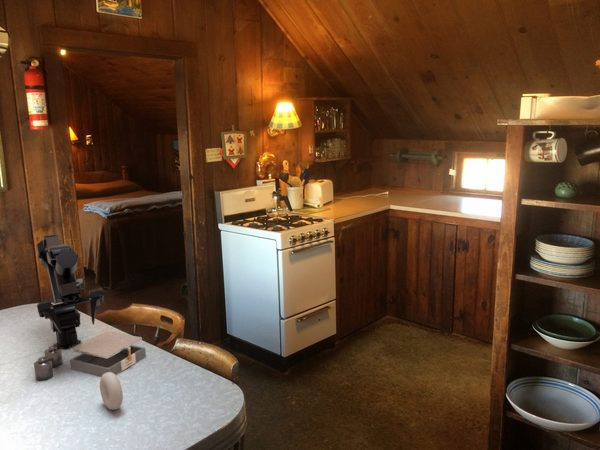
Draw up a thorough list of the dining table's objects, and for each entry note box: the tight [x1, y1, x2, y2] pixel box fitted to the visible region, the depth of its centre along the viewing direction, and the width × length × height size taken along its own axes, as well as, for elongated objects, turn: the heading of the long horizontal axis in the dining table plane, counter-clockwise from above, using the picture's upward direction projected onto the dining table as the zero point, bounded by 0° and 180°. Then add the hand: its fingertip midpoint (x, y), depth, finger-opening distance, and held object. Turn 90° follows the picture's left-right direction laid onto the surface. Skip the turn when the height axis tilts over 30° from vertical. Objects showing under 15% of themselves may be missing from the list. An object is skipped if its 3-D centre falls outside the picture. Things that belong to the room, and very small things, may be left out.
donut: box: [99, 372, 124, 411], centre depth 139 cm, size 10×4×10 cm, turn 41°
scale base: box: [69, 344, 147, 378], centre depth 166 cm, size 16×16×3 cm
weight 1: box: [33, 356, 54, 382], centre depth 157 cm, size 5×5×6 cm
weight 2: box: [44, 344, 64, 370], centre depth 165 cm, size 5×5×6 cm
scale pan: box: [70, 330, 143, 360], centre depth 165 cm, size 17×15×4 cm
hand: (77, 328), depth 157 cm, fingers open, 9 cm apart
